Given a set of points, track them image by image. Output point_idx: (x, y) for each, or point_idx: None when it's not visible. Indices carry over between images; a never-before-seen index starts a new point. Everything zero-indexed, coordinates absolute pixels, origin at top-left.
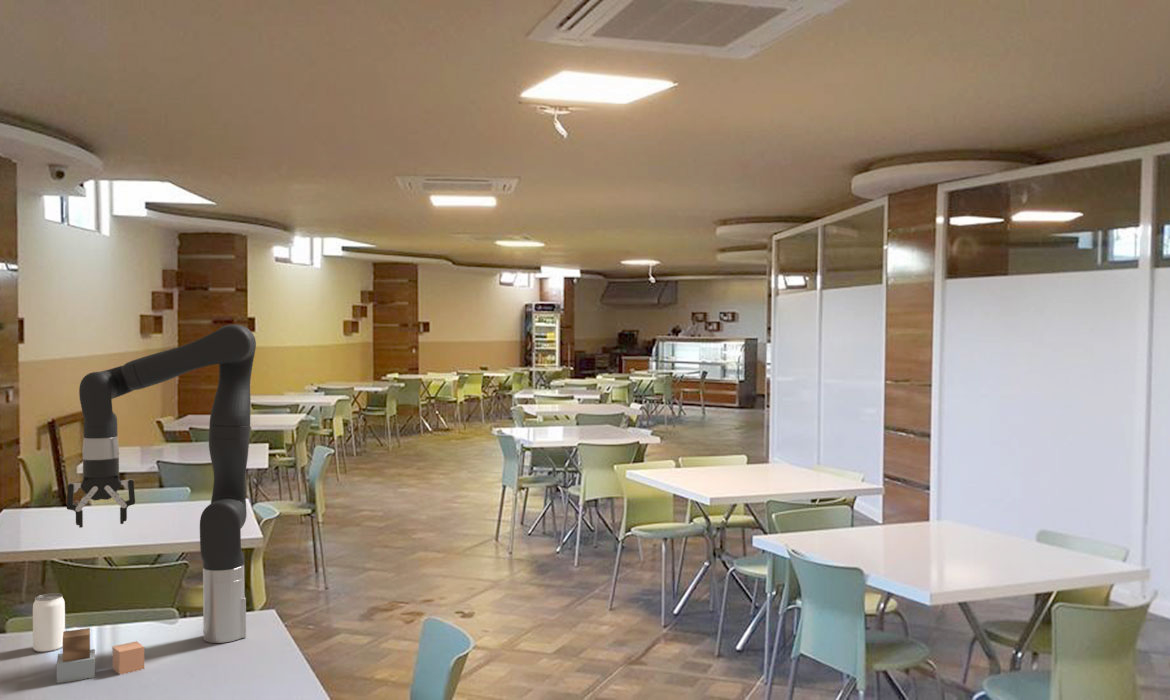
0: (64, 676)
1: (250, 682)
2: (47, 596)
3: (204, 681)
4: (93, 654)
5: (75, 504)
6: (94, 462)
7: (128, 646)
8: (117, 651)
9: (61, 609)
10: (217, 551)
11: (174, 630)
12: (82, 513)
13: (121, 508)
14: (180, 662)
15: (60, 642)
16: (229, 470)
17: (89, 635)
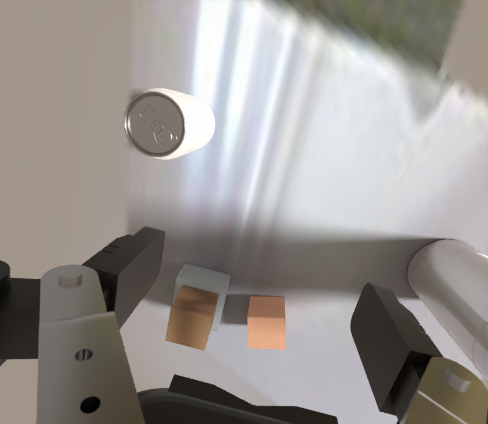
0: None
1: None
2: (154, 104)
3: (326, 410)
4: (220, 312)
5: (18, 312)
6: None
7: (266, 333)
8: (248, 337)
9: (188, 150)
10: None
11: (400, 168)
12: (119, 323)
13: (393, 405)
14: (333, 332)
15: (202, 146)
16: None
17: (204, 349)
